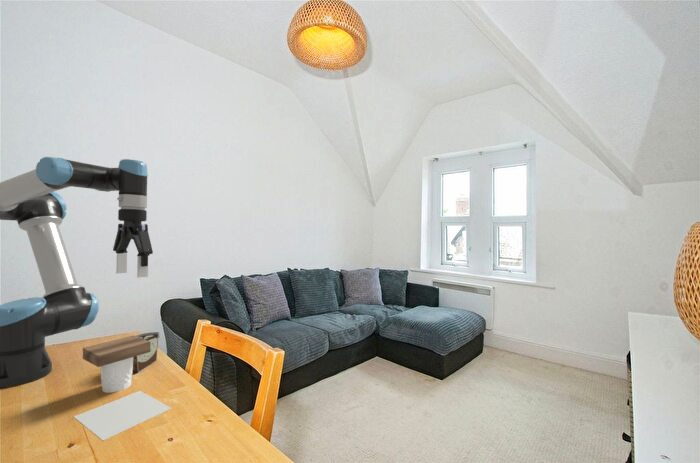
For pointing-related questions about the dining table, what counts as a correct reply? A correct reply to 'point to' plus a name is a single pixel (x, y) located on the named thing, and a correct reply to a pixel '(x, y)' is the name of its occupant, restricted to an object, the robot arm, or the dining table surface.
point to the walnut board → (115, 350)
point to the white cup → (117, 375)
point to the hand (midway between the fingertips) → (131, 275)
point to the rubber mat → (121, 414)
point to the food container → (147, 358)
